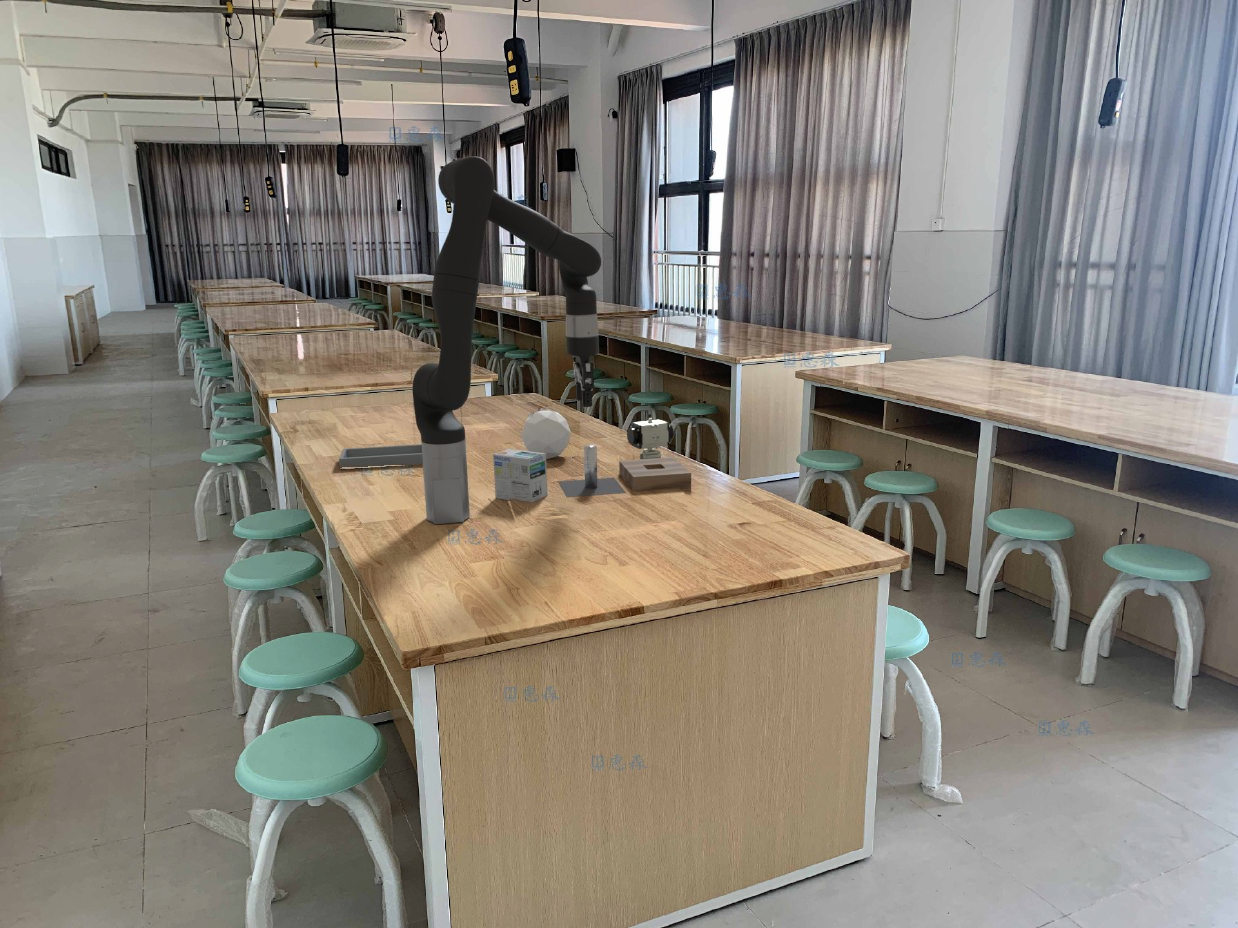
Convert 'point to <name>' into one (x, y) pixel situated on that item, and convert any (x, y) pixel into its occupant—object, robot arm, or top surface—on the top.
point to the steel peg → (590, 466)
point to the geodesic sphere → (546, 433)
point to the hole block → (655, 474)
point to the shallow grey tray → (381, 456)
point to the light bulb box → (520, 475)
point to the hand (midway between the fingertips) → (584, 403)
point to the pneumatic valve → (650, 436)
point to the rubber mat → (578, 489)
